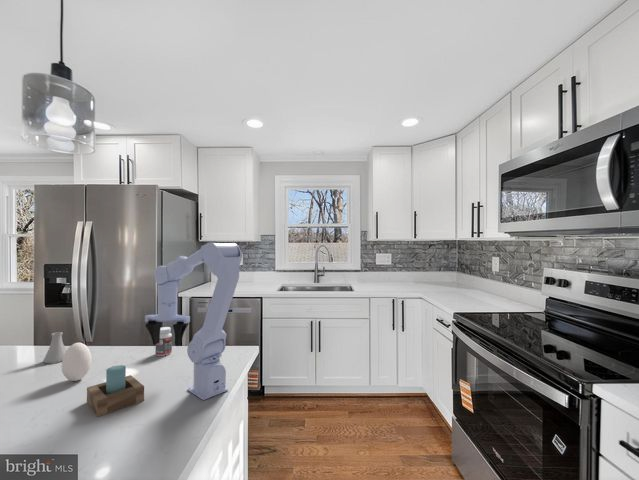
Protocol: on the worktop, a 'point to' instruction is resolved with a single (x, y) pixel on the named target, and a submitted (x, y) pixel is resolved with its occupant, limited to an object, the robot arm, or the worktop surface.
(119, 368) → the teal peg
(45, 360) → the flask
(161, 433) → the worktop surface
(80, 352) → the egg
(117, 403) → the walnut holder
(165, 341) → the pill bottle
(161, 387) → the worktop surface
